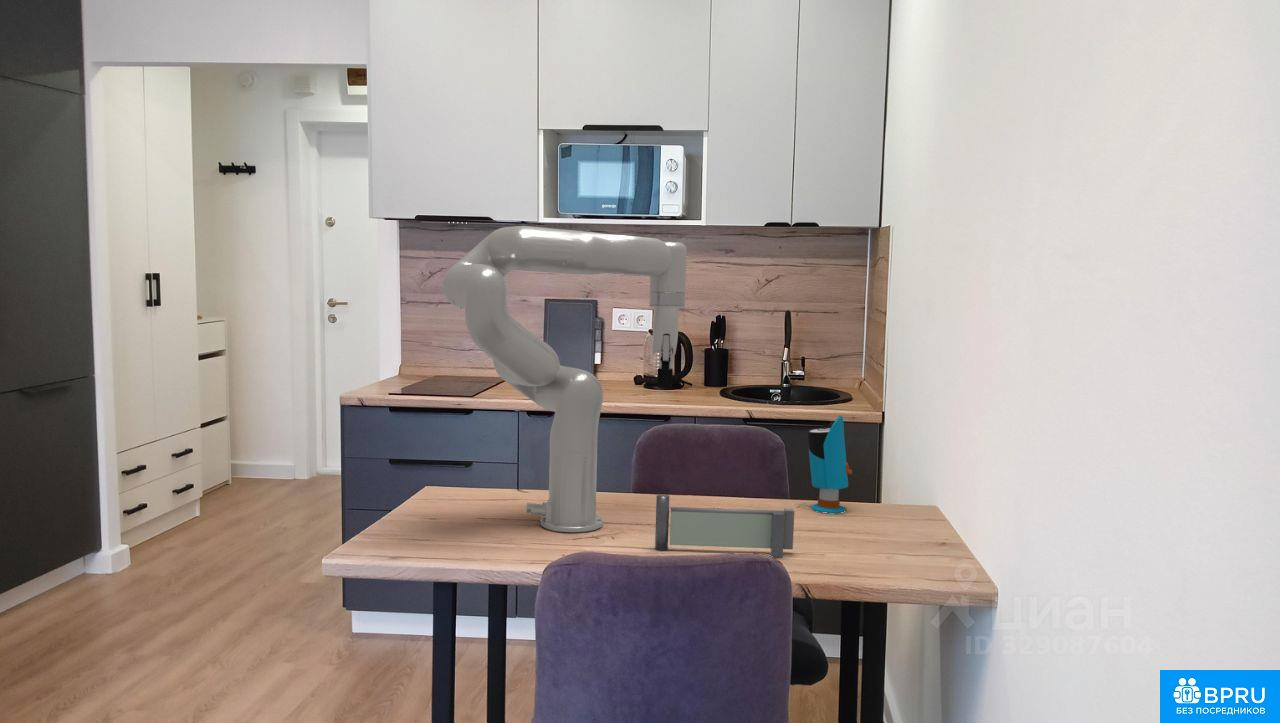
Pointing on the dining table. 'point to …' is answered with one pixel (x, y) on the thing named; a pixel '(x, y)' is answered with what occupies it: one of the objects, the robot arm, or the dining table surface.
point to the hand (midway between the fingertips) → (664, 387)
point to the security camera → (828, 465)
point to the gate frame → (663, 528)
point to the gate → (727, 527)
